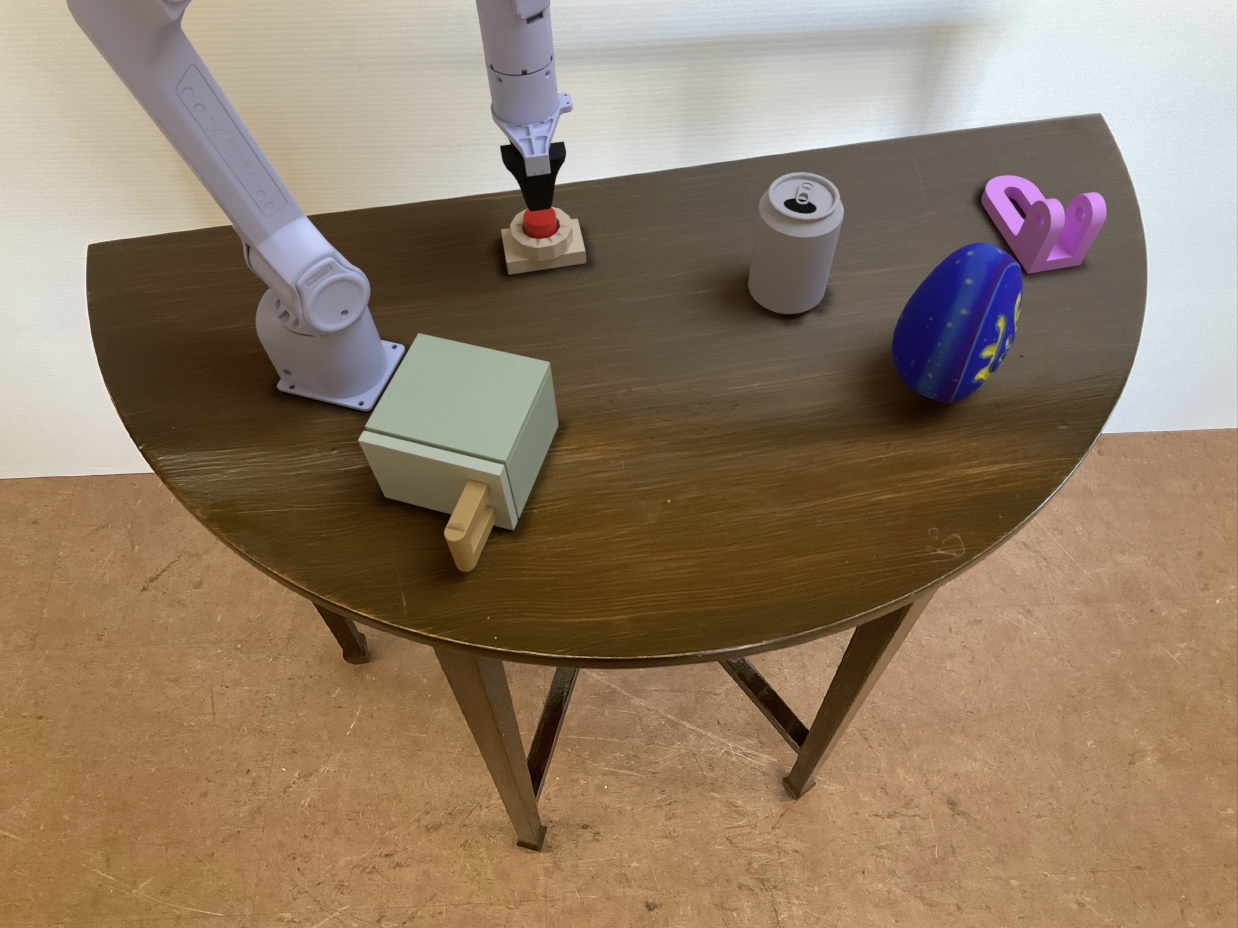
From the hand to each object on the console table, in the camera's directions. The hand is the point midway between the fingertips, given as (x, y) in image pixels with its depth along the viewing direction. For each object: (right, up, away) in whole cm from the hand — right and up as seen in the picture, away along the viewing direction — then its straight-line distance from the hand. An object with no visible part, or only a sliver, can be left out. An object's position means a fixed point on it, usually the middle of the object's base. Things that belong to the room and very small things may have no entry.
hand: (536, 191), depth 82 cm
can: (+24, -9, +3) cm, 26 cm away
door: (-7, -32, -12) cm, 35 cm away
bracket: (+50, -2, +7) cm, 51 cm away
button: (0, -3, +4) cm, 5 cm away
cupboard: (-4, -25, -8) cm, 27 cm away
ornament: (+37, -18, -4) cm, 41 cm away
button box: (0, -4, +6) cm, 8 cm away
